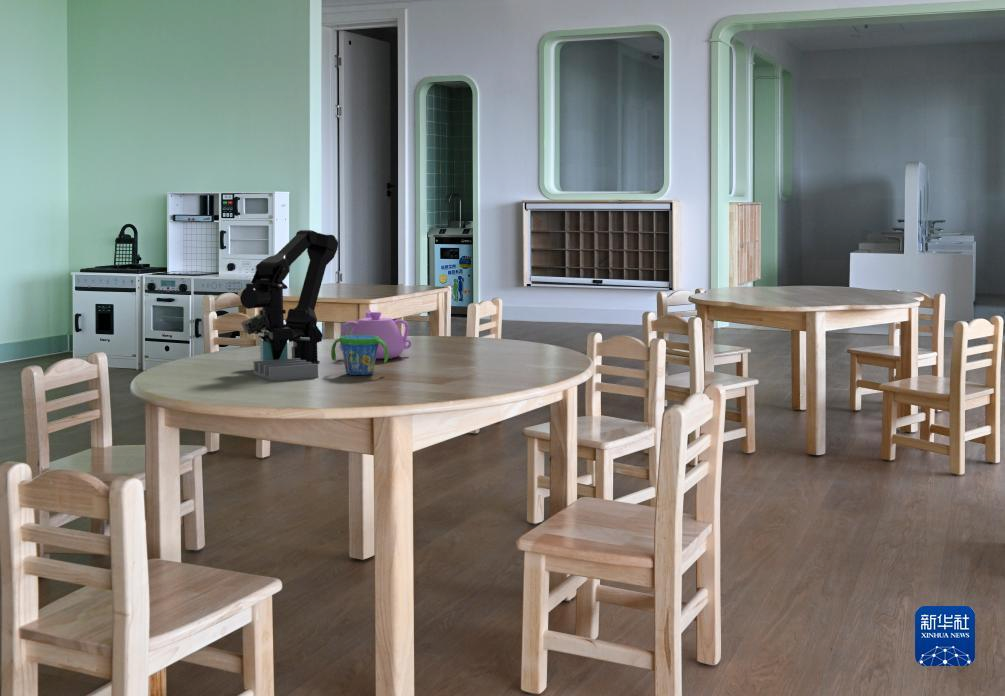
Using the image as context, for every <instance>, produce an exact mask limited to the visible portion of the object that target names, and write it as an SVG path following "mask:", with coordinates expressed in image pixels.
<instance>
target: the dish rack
mask: <svg viewBox="0 0 1005 696" xmlns="http://www.w3.org/2000/svg"><path fill="white" fill-rule="evenodd" d="M252 363H253V375H255V376H258V377H260V378H261V379H262V378H263V379H265V380H267V381H270V382H275V381H278V382H279V381H289V380H302V379H313V378H314V379H316V378H319V363H312V362H306V360H301V358H293V359H292V358H288V359H279V360H264V361H261V360H254V361H252Z"/></svg>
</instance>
